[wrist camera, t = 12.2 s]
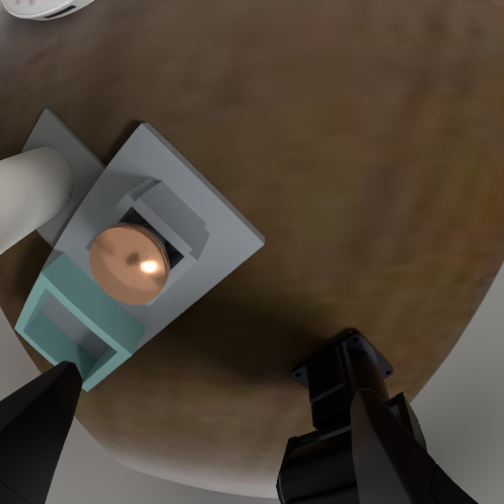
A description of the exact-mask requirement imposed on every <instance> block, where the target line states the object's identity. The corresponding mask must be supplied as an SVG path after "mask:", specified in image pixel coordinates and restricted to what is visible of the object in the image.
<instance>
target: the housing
mask: <svg viewBox="0 0 504 504" xmlns="http://www.w3.org/2000/svg"><path fill="white" fill-rule="evenodd" d="M143 219H145V220H146V221H147V222H148V223H150V224H151V225H152V226H153V227H154V228H155V229H156V230H157V231H158V232H159V233H160V234H161V235H162V236H163V237H164V238H165V239H166V240H167V241H168V242H170V243H171V244H170V245H169V246H168V248H167V249H166V252H167V254H168V257H169V263H170V271H169V276H168V279H167V281H166V283H165V285H164V287H163V289H162V290H161V292H160V293H159V295H158V296H157V297H156V298H155V299H153V300H152V301H150V302H147V303H144V304H138V305H135V304H127V303H124V302H121V301H118V300H116V299H115V298H113V297H111V296H110V295H109V294H107V293H106V292H105V291H104V290H103V289H102V288H101V287H100V286H99V284H98V283H97V281H96V280H95V278H94V276H93V274H92V271H91V268H90V262H89V254H90V249H91V246H92V244H93V242H94V240H95V239H96V238H97V237H98V236H99V235H100V234H101V233H102V232H104V231H105V230H106V229H107V228H108V227H110V226H112V225H114V224H117V223H124V222H127V223H134V224H138V223H139V222H140V221H141V220H143ZM264 244H265V237H264V236H263V235H262V234H261V233H260V232H259V231H258V230H257V229H256V228H255V227H254V226H253V225H252V224H251V223H250V222H249V221H248V220H247V219H246V218H245V217H244V216H243V215H242V214H241V213H240V212H239V211H238V210H237V209H236V208H235V207H234V206H233V205H232V204H231V203H230V202H229V201H228V200H227V199H226V198H225V197H224V196H223V195H222V194H221V193H220V192H219V191H218V190H217V189H216V188H215V187H214V186H213V185H212V184H211V183H210V182H209V181H208V180H207V179H206V178H205V177H204V176H203V175H202V174H201V173H200V172H198V171H197V170H196V169H195V168H194V167H193V166H192V165H191V164H190V163H189V162H188V161H187V160H186V159H185V158H184V157H183V156H182V155H181V154H180V153H179V152H178V151H177V150H176V149H175V148H174V147H173V146H172V145H171V144H170V143H169V142H168V141H167V140H166V139H165V138H164V137H163V136H162V135H161V134H159V133H158V132H157V131H156V130H155V129H154V128H153V127H152V126H151V125H150V124H149V123H148V122H147V123H141V124H140V126H139V127H138V128H137V129H136V130H135V132H134V133H133V134H132V135H131V136H130V138H129V139H128V140H127V141H126V143H125V144H124V145H123V146H122V148H121V149H120V150H119V151H118V153H117V154H116V155H115V157H114V158H113V159H112V161H111V162H110V163H109V165H108V166H107V167H106V169H105V170H104V171H103V173H102V174H101V175H100V177H99V178H98V180H97V181H96V182H95V184H94V185H93V187H92V188H91V190H90V191H89V193H88V194H87V195H86V197H85V198H84V200H83V201H82V203H81V204H80V206H79V208H78V209H77V211H76V212H75V214H74V215H73V217H72V218H71V220H70V222H69V223H68V225H67V226H66V228H65V230H64V231H63V233H62V235H61V236H60V238H59V240H58V241H57V243H56V245H55V247H54V248H53V250H52V252H51V254H50V255H49V257H48V259H47V261H46V263H45V265H44V266H43V268H42V270H41V272H40V274H39V276H38V278H37V280H36V282H35V284H34V286H33V288H32V290H31V292H30V294H29V296H28V298H27V300H26V302H25V304H24V306H23V307H24V308H23V310H22V312H21V315H20V317H19V319H18V321H17V324H16V326H15V328H14V329H15V330H16V331H17V332H18V333H19V334H20V335H21V336H22V337H23V338H24V339H25V340H26V341H27V342H29V343H30V344H31V345H32V346H33V347H34V348H35V349H36V350H37V351H38V352H39V353H40V354H42V355H43V356H44V357H45V358H46V359H47V360H48V361H49V362H51V363H52V364H53V365H54V366H55V365H57V364H59V363H60V362H62V361H64V360H67V361H71V362H74V363H75V364H76V365H77V368H78V370H79V372H80V374H81V376H82V379H83V385H82V389H84V390H85V391H86V392H88V391H89V390H90V389H92V388H93V387H94V386H95V385H97V384H98V383H99V382H100V381H101V380H103V379H104V378H105V377H106V376H107V375H109V374H110V373H111V372H112V371H113V370H115V369H116V368H117V367H118V366H120V365H121V364H122V363H123V362H124V361H126V360H127V359H128V358H129V357H130V356H132V355H133V353H135V352H136V351H137V350H138V349H139V348H141V347H142V346H143V345H144V344H145V343H147V342H148V341H149V340H150V339H151V338H153V337H154V336H155V335H156V334H157V333H159V332H160V331H161V330H162V329H163V328H165V327H166V326H167V325H168V324H169V323H171V322H172V321H173V320H174V319H175V318H177V317H178V316H179V315H180V314H181V313H183V312H184V311H185V310H186V309H187V308H189V307H190V306H191V305H192V304H193V303H195V302H196V301H197V300H198V299H199V298H201V297H202V296H203V295H204V294H206V293H207V292H208V291H209V290H210V289H212V288H213V287H214V286H215V285H216V284H218V283H219V282H220V281H221V280H222V279H224V278H225V277H226V276H227V275H228V274H230V273H231V272H232V271H233V270H234V269H236V268H237V267H238V266H239V265H240V264H242V263H243V262H244V261H245V260H246V259H248V258H249V257H250V256H251V255H252V254H254V253H255V252H256V251H257V250H258V249H260V248H261V247H262V246H263V245H264Z"/></svg>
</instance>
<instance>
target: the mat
mask: <svg viewBox="0 0 504 504" xmlns="http://www.w3.org/2000/svg"><path fill="white" fill-rule="evenodd" d="M40 147H51V148H54V149H56V150H57V151H59V152H60V153H61V154H62V155H63V156H64V157H65V159H66V160H67V162H68V164H69V166H70V169H71V172H72V176H73V194H72V198H71V200H70V203H69V205H68V206H67V207H66V209H65V210H64V211H62V212H61V213H59V214H58V215H56V216H55V217H53V218H52V219H50V220H49V221H47V222H46V223H44V224H43V225H41V226H40V227H38V228H37V229H36V230H37V231H38V233H39V234H40V235H41V236H42V237H43V238H44V239H45V240H46V241H47V242H48V243H49V244H50V245H51V246H52V247H53V248H54V247H55V245H56V243H57V241H58V240H59V238H60V236H61V235H62V233H63V231H64V230H65V228H66V226H67V225H68V223H69V222H70V220H71V218H72V217H73V215H74V214H75V212H76V211H77V209H78V208H79V206H80V204H81V203H82V201H83V200H84V198H85V197H86V195H87V194H88V193H89V191H90V190H91V188H92V187H93V185H94V184H95V182H96V181H97V180H98V178H99V177H100V175H101V174H102V173H103V171H104V170H105V169H106V166H105V165H104V164H103V163H102V162H101V161H100V160H99V159H98V158H97V157H96V156H95V155H94V154H93V153H92V152H91V151H90V150H89V149H88V148H87V147H86V146H85V145H84V144H83V143H82V142H81V141H80V140H79V139H78V137H77V136H76V135H75V134H74V133H73V132H72V131H71V130H70V129H69V128H68V127H67V126H66V125H65V124H64V123H63V122H62V121H61V120H60V119H59V118H58V117H57V115H56V114H55V113H54V112H53V111H52V110H51V109H50V108H49V107H48V108H45V109H44V111H43V113H42V115H41V116H40V118H39V120H38V121H37V123H36V125H35V127H34V129H33V130H32V132H31V134H30V136H29V138H28V140H27V142H26V144H25V146H24V148H23V150H22V152H21V153H24V152H27V151H30V150H33V149H37V148H40Z"/></svg>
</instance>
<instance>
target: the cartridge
mask: <svg viewBox="0 0 504 504" xmlns="http://www.w3.org/2000/svg"><path fill="white" fill-rule="evenodd" d="M72 194H73V176H72V172H71V169H70V166H69V164H68V162H67V160H66V159H65V157H64V156H63V155H62V154H61V153H60V152H59V151H57V150H56V149H54V148H51V147H40V148H37V149H33V150H30V151H27V152H24V153H21V154H18V155H15V156H12V157H9V158H6V159H3V160H0V254H2V253H3V252H4V251H6V250H7V249H8V248H10V247H11V246H12V245H14V244H15V243H17V242H18V241H19V240H21V239H22V238H24V237H25V236H26V235H28V234H29V233H31V232H32V231H34V230H35V229H37V228H38V227H40V226H41V225H43V224H44V223H46V222H47V221H49V220H50V219H52V218H53V217H55V216H56V215H58V214H59V213H61V212H62V211H64V210H65V209H66V207H67V206H68V205H69V203H70V200H71V198H72Z"/></svg>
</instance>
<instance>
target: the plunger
mask: <svg viewBox="0 0 504 504" xmlns="http://www.w3.org/2000/svg"><path fill="white" fill-rule="evenodd" d="M170 244H171V243H170V242H168V241H167V240H166V239H165V238H164V237H163V236H162V235H161V234H160V233H159V232H158V231H157V230H156V229H155V228H154V227H153V226H152V225H151V224H150V223H148V222H147V221H146V220H145V219H143V220H141V221H140V222H139V223H138V224H134V223H127V222H124V223H117V224H114V225H112V226H110V227H108V228H107V229H106V230H105V231H104V232H102V233H101V234H100V235H99V236H98V237H97V238H96V239H95V240H94V242H93V244H92V246H91V249H90V254H89V262H90V268H91V271H92V274H93V276H94V278H95V280H96V281H97V283H98V284H99V286H100V287H101V288H102V289H103V290H104V291H105V292H106V293H107V294H109V295H110V296H111V297H113V298H115V299H116V300H118V301H121V302H124V303H127V304H135V305H138V304H144V303H147V302H150V301H152V300H153V299H155V298H156V297H157V296H158V295H159V293H160V292H161V290H162V289H163V287H164V285H165V283H166V281H167V279H168V276H169V271H170V263H169V257H168V254H167V252H166V249H167V248H168V246H169V245H170Z"/></svg>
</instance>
